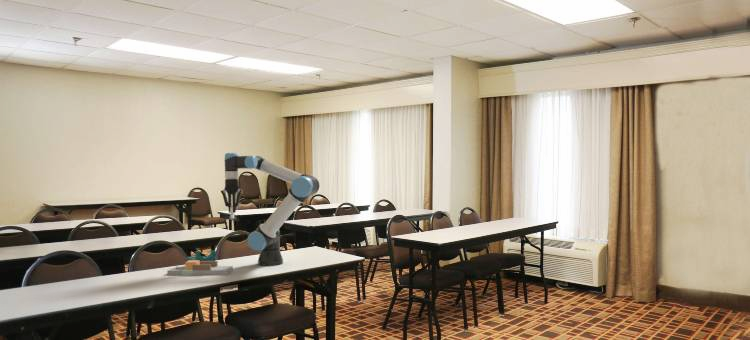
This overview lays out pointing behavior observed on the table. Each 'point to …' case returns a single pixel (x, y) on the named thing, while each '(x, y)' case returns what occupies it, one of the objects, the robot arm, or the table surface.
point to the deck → (201, 269)
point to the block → (191, 263)
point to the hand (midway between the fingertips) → (232, 218)
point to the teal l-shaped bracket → (203, 257)
